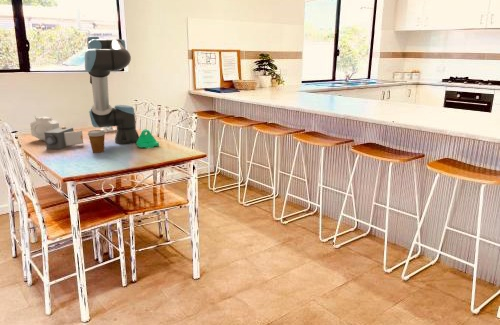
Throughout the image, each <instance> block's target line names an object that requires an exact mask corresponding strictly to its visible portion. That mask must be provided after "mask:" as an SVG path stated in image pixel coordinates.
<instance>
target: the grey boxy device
mask: <svg viewBox="0 0 500 325" xmlns="http://www.w3.org/2000/svg"><path fill="white" fill-rule="evenodd" d="M74 131H75V130H74V127H67V126H59V128H56V129H53V130H50V131H47V132H44V134H45V141H44V142H45V147H46V149H47V150H62V149H65V148H67V147H69V146H71V145H68V146H65V139H64V133H66V132H74Z"/></svg>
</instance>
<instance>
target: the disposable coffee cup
mask: <svg viewBox="0 0 500 325" xmlns="http://www.w3.org/2000/svg"><path fill="white" fill-rule="evenodd" d="M87 135H88V138H89V143H90V145H91V151H92V152H93V153H94V154H97V153H100V154H101V153H103V152H105V135H106V132H104V130H100V129H92V130H89V131H88V132H87Z"/></svg>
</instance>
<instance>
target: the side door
mask: <svg viewBox="0 0 500 325" xmlns="http://www.w3.org/2000/svg"><path fill="white" fill-rule="evenodd" d="M83 135H84V134H83V130H74V132H66V133H64V139H65V146H67V147H69V146H68V145H70V146H73V145H74V146H75V145H76V146H77V145H83V144H84V137H83Z"/></svg>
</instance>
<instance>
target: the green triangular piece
mask: <svg viewBox="0 0 500 325" xmlns="http://www.w3.org/2000/svg"><path fill="white" fill-rule="evenodd" d="M159 145H160V143H159V142H158V141H157V140H156V139H155V137H154V136H153V135H152V133H151V131H150V130H148V129H142V131H141V133H140V135H139V138H138V140H137V142H136V146H137V147H139V148H145V149H151V148H154V147H155V146H159Z"/></svg>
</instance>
